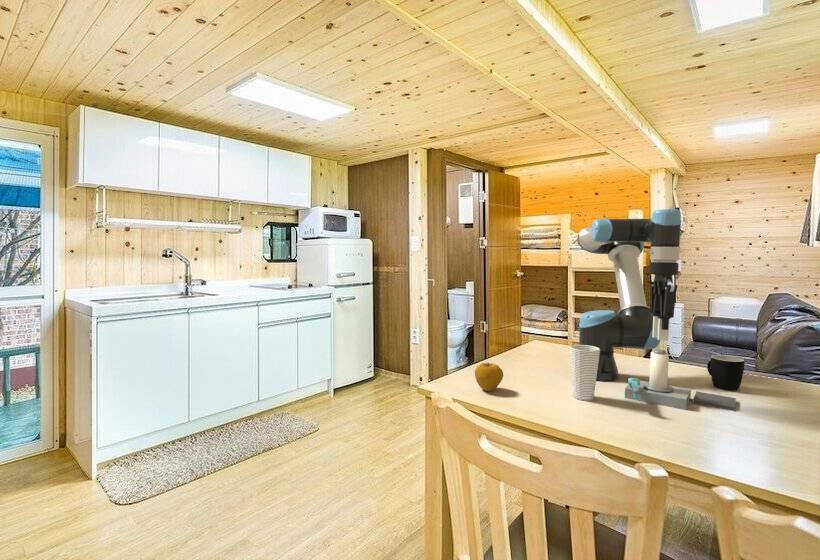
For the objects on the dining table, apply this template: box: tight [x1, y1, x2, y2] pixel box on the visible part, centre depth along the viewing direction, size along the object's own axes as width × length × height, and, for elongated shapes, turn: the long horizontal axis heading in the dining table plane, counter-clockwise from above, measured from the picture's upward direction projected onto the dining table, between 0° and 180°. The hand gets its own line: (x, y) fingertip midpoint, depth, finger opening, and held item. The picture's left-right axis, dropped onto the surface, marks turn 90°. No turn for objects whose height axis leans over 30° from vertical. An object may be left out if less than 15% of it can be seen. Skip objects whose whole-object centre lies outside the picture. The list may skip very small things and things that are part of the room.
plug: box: [643, 349, 673, 393], centre depth 134 cm, size 8×8×15 cm
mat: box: [692, 391, 737, 412], centre depth 131 cm, size 10×10×1 cm
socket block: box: [624, 379, 692, 411], centre depth 134 cm, size 16×12×4 cm
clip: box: [627, 377, 642, 401], centre depth 128 cm, size 17×3×3 cm, turn 156°
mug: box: [706, 354, 745, 392], centre depth 146 cm, size 12×9×10 cm
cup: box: [569, 344, 600, 402], centre depth 133 cm, size 8×8×16 cm
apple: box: [474, 362, 504, 392], centre depth 140 cm, size 9×9×9 cm
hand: (660, 338), depth 133 cm, fingers open, 3 cm apart
